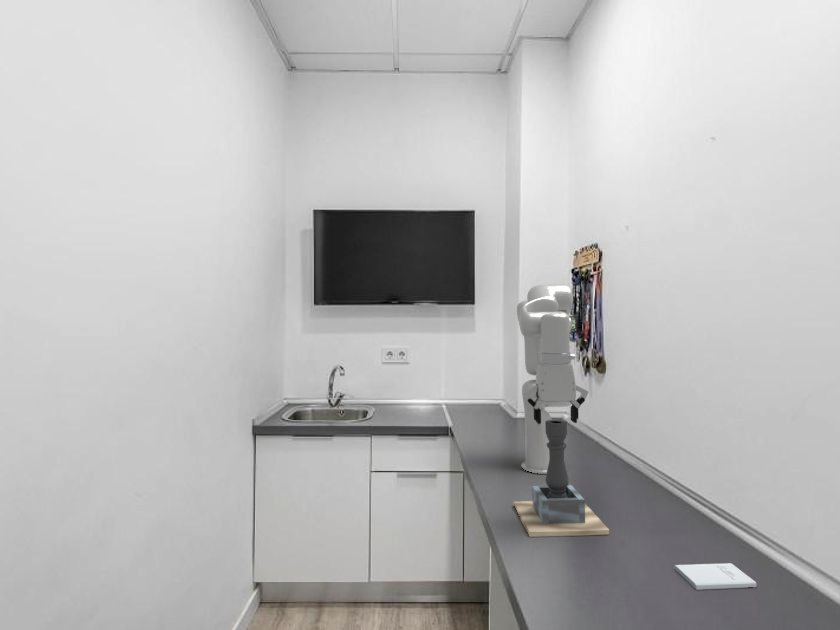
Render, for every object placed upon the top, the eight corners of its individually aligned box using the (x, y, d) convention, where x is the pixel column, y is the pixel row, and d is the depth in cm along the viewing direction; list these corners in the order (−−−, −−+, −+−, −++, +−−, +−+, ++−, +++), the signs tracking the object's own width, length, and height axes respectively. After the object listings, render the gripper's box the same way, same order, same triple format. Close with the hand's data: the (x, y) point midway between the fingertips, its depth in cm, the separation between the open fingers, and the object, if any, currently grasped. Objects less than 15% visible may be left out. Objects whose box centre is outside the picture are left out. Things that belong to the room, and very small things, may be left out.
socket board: (513, 505, 145) (513, 480, 145) (582, 504, 146) (581, 479, 146) (529, 536, 125) (529, 508, 125) (609, 534, 126) (608, 506, 126)
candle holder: (553, 520, 132) (551, 425, 132) (541, 511, 138) (540, 420, 138) (574, 517, 133) (572, 423, 133) (561, 508, 139) (560, 418, 139)
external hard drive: (674, 571, 109) (730, 569, 109) (696, 592, 101) (756, 589, 101) (674, 564, 109) (730, 561, 109) (696, 584, 101) (756, 581, 101)
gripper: (582, 356, 139) (583, 418, 140) (520, 358, 139) (521, 419, 139) (592, 360, 132) (592, 425, 132) (526, 361, 131) (527, 426, 132)
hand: (556, 422), depth 136 cm, fingers open, 9 cm apart
